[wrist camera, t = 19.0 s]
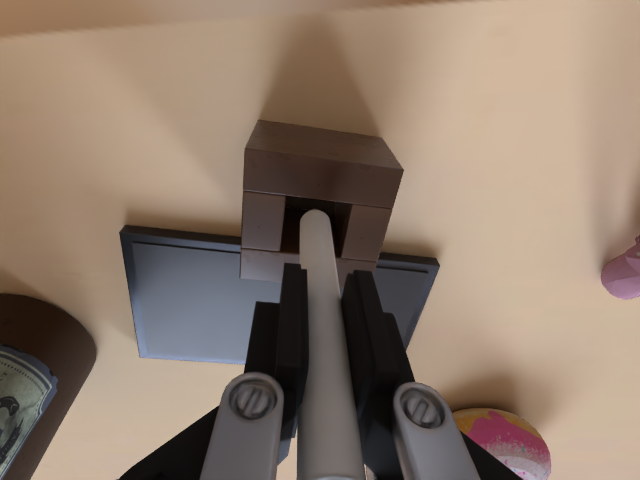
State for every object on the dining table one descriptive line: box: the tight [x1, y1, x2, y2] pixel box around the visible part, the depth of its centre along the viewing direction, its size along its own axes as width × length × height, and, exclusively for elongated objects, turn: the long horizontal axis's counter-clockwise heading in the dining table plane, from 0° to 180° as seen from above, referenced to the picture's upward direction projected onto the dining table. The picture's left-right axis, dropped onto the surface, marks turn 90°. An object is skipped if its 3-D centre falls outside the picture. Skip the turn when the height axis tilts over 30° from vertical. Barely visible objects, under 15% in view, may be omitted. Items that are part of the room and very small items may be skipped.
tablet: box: [119, 225, 440, 364], centre depth 25 cm, size 11×20×1 cm, turn 81°
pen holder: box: [239, 120, 404, 288], centre depth 19 cm, size 7×7×5 cm
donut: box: [452, 408, 551, 480], centre depth 34 cm, size 14×13×5 cm
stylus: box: [297, 209, 366, 480], centre depth 12 cm, size 1×1×12 cm
